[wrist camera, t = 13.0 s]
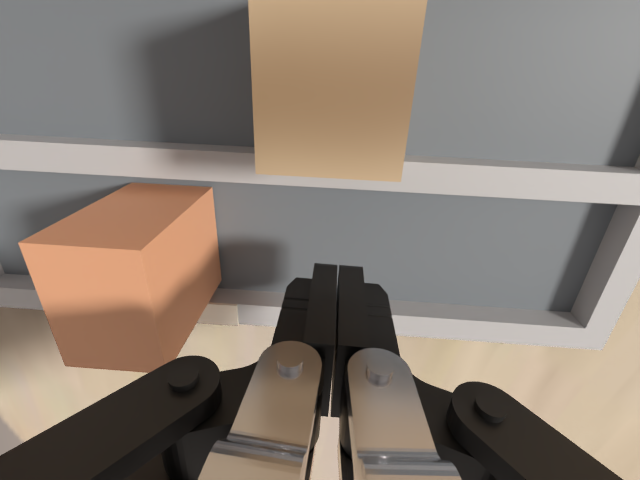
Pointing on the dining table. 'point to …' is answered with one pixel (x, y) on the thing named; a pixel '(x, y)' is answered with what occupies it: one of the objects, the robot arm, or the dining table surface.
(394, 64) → the tan block
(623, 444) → the dining table surface
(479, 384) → the robot arm
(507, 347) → the dining table surface
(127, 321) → the orange rectangular block
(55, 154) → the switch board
